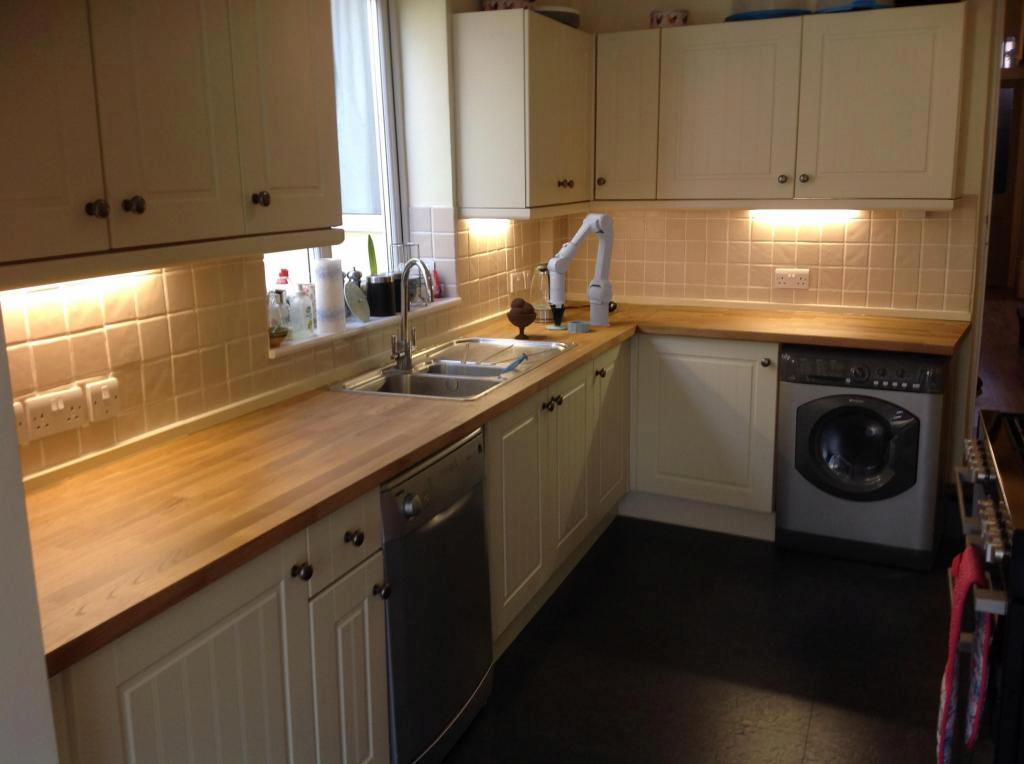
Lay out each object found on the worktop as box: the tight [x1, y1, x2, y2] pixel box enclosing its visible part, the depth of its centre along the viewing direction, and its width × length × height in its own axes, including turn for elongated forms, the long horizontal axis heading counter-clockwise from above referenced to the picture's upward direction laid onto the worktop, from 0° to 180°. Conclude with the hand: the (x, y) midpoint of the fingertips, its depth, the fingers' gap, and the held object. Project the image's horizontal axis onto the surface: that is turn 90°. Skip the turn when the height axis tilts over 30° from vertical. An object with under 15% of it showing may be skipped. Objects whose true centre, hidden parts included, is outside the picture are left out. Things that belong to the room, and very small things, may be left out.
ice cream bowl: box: [506, 297, 538, 341], centre depth 355 cm, size 11×11×15 cm
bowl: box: [567, 320, 590, 334], centre depth 368 cm, size 8×8×4 cm
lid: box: [545, 321, 568, 331], centre depth 375 cm, size 9×9×5 cm
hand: (557, 324), depth 375 cm, fingers open, 5 cm apart
